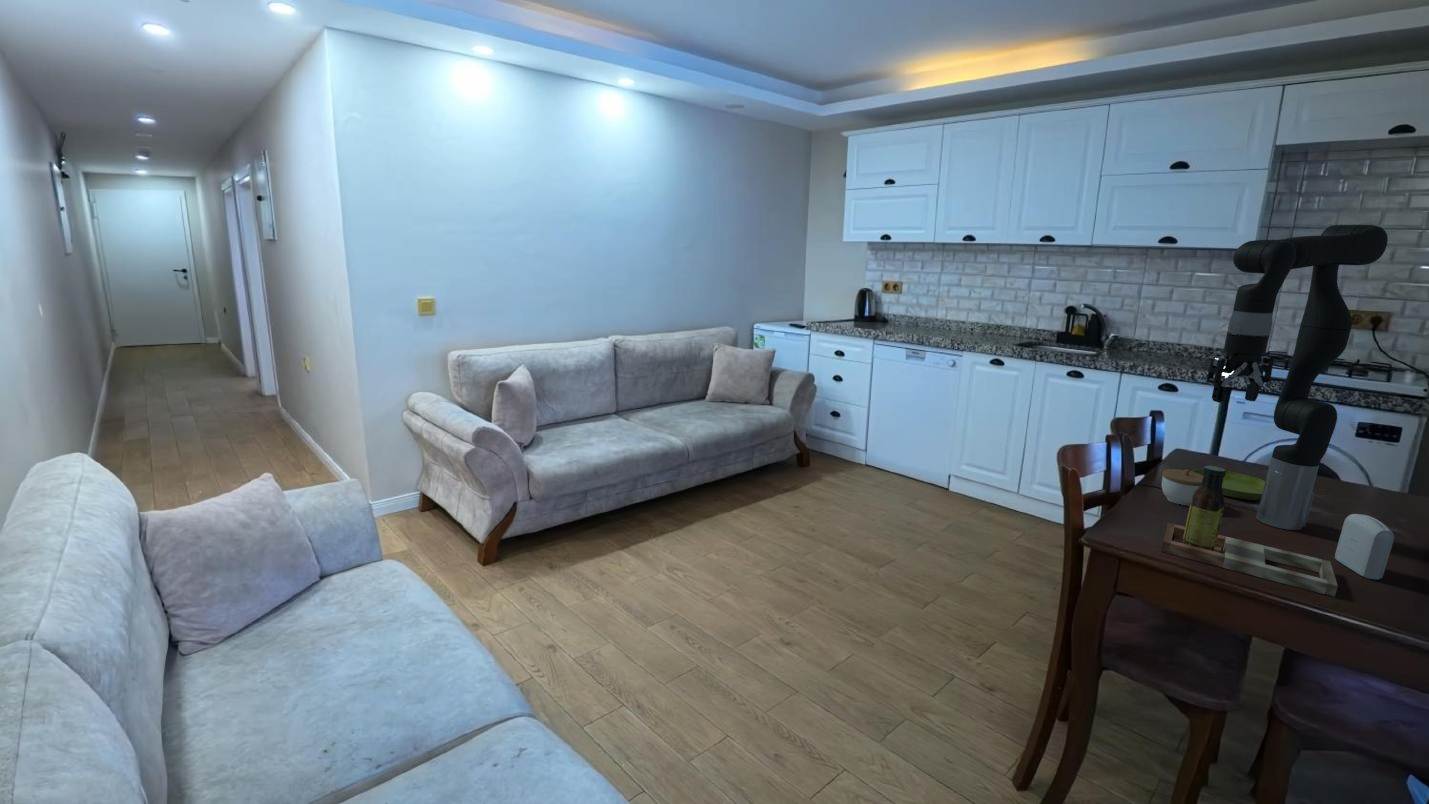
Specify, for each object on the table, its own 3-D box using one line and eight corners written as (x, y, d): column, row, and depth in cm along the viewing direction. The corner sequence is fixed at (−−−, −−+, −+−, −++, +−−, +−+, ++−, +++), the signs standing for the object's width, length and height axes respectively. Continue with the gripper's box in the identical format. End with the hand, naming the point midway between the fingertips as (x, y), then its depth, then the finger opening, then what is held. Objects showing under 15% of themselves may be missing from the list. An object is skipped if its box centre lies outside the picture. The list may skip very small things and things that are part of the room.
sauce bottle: (1219, 556, 150) (1240, 475, 145) (1188, 552, 151) (1208, 472, 146) (1204, 543, 156) (1224, 465, 151) (1175, 540, 157) (1194, 462, 152)
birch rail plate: (1327, 571, 145) (1330, 561, 144) (1334, 596, 134) (1337, 586, 134) (1165, 531, 163) (1167, 522, 162) (1160, 551, 152) (1163, 541, 151)
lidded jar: (1188, 511, 176) (1195, 478, 174) (1148, 496, 186) (1155, 465, 183) (1212, 506, 180) (1220, 474, 178) (1172, 492, 190) (1179, 461, 188)
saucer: (1295, 505, 184) (1298, 494, 183) (1222, 503, 184) (1225, 492, 183) (1238, 478, 204) (1240, 469, 203) (1172, 476, 204) (1174, 467, 203)
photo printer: (1329, 557, 152) (1344, 508, 149) (1351, 559, 151) (1366, 510, 148) (1362, 579, 142) (1378, 526, 139) (1385, 581, 141) (1402, 529, 138)
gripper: (1260, 328, 152) (1245, 396, 156) (1206, 329, 150) (1192, 398, 154) (1292, 333, 145) (1276, 404, 149) (1235, 334, 143) (1220, 406, 147)
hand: (1233, 401), depth 151 cm, fingers open, 8 cm apart
